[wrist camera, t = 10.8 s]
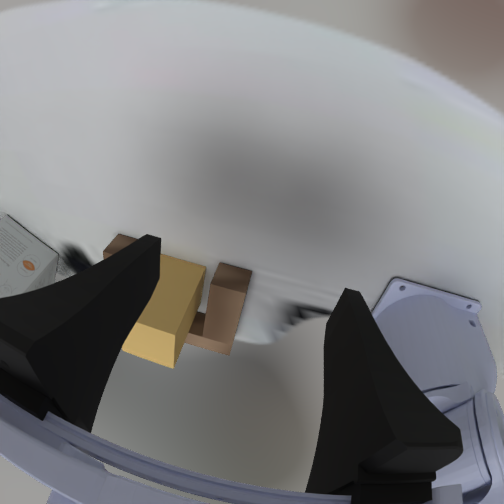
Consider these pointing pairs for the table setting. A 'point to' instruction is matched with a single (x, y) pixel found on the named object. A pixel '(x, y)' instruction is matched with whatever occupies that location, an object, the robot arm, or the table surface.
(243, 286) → the notched board
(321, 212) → the table surface
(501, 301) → the table surface
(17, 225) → the small box
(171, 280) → the ochre block
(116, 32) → the table surface
